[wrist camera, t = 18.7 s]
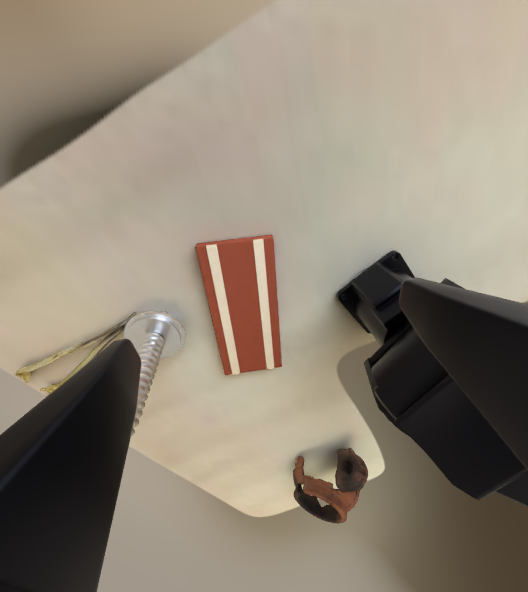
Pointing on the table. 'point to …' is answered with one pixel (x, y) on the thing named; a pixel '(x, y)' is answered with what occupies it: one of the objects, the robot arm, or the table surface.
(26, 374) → the tongs
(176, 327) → the screw
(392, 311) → the robot arm
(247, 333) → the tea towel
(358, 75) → the table surface
